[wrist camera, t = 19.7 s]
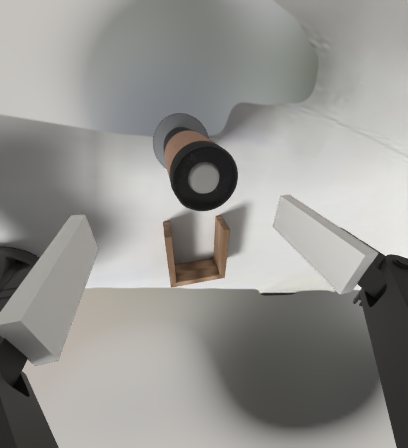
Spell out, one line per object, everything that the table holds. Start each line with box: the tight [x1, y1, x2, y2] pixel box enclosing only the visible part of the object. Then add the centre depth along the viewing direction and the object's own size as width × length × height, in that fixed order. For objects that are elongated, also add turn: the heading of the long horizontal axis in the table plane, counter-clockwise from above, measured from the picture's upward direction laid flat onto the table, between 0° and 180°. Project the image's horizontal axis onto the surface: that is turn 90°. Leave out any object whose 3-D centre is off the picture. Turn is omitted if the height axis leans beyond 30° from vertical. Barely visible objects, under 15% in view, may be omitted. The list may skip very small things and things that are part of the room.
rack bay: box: [163, 216, 230, 287], centre depth 49 cm, size 15×16×6 cm
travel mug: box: [163, 127, 238, 211], centre depth 28 cm, size 8×8×20 cm
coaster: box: [153, 113, 209, 169], centre depth 37 cm, size 11×11×1 cm
